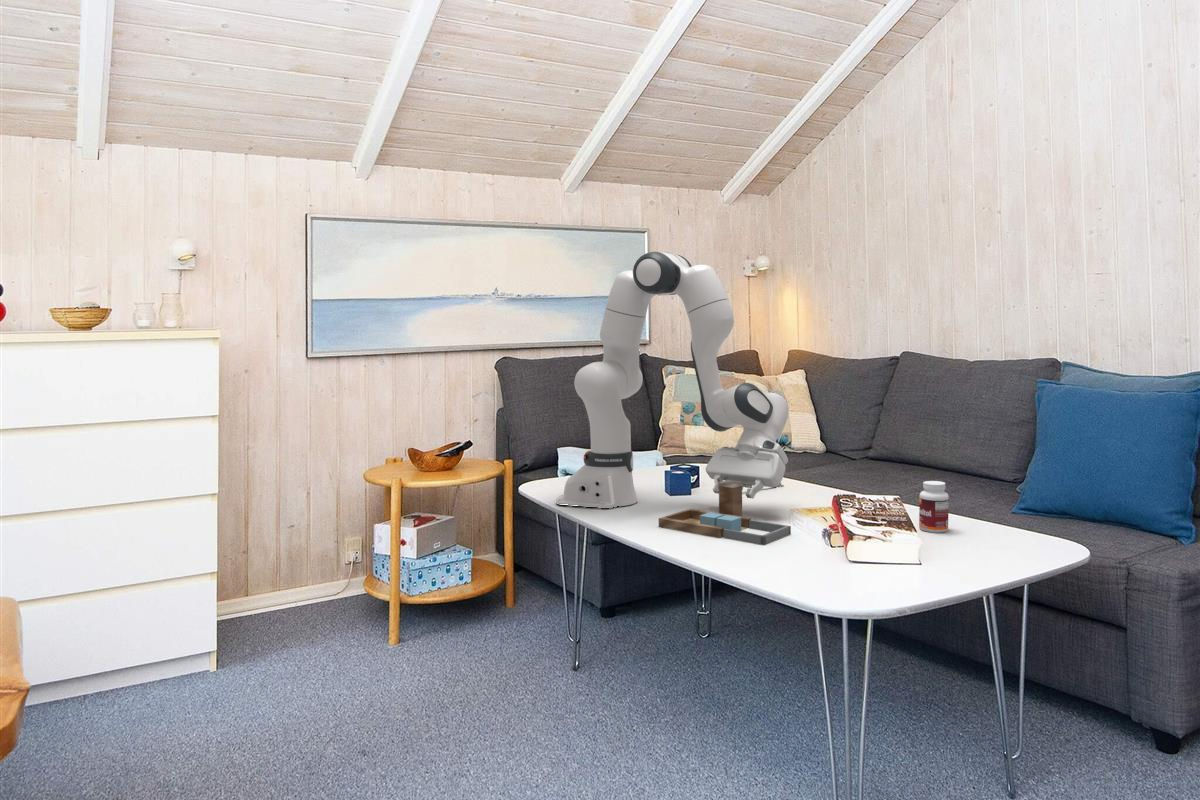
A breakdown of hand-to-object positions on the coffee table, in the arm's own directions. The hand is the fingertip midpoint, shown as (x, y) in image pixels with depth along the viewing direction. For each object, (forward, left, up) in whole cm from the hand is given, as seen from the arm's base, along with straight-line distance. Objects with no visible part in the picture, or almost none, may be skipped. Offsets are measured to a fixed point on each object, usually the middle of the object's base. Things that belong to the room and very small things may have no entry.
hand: (732, 494), depth 192 cm
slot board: (-6, -10, -7) cm, 14 cm away
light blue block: (-1, -13, -6) cm, 14 cm away
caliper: (+7, +41, -7) cm, 42 cm away
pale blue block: (-4, -11, -6) cm, 13 cm away
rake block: (0, 0, -7) cm, 7 cm away
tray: (+6, -17, -7) cm, 19 cm away
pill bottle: (+46, -2, -7) cm, 46 cm away
